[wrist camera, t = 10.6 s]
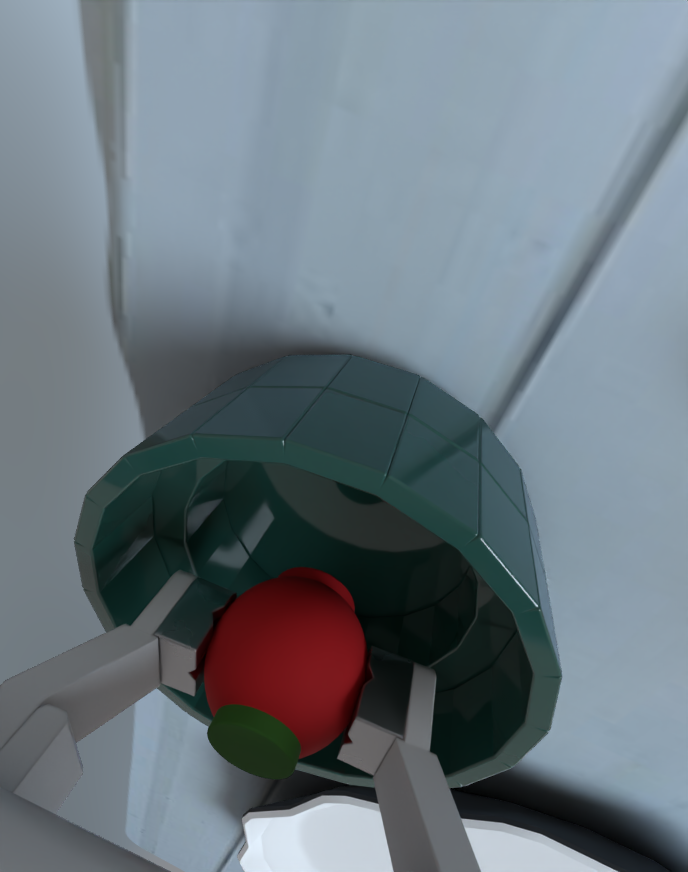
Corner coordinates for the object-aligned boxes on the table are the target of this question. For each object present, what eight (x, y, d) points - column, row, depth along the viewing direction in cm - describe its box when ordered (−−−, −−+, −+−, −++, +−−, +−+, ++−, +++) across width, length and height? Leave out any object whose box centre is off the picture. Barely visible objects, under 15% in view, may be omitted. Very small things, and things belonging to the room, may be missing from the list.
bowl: (197, 298, 12) (36, 355, 7) (611, 423, 10) (702, 581, 6) (191, 566, 17) (99, 683, 13) (454, 669, 16) (444, 838, 12)
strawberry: (258, 524, 10) (162, 664, 7) (399, 576, 10) (361, 749, 7) (245, 613, 12) (165, 755, 9) (364, 661, 12) (322, 827, 9)
